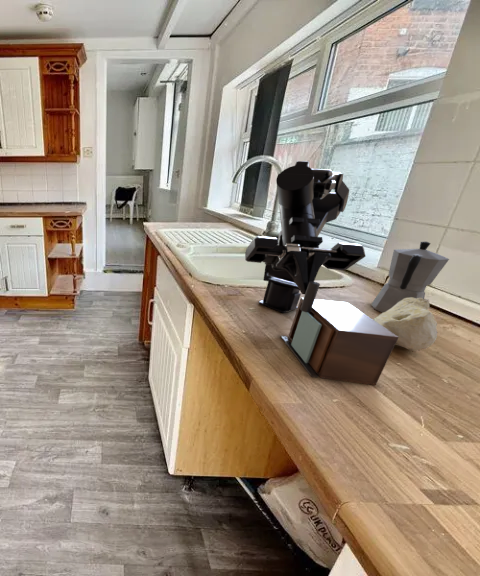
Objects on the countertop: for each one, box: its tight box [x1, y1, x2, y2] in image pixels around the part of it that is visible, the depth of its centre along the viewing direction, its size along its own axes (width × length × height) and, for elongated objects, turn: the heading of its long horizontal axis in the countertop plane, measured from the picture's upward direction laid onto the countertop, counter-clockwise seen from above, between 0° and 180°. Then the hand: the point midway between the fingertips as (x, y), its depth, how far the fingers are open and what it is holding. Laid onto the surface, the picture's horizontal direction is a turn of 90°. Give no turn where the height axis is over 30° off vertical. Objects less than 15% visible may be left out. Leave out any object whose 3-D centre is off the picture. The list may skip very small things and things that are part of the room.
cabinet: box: [280, 297, 399, 386], centre depth 54 cm, size 13×10×9 cm
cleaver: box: [291, 281, 322, 364], centre depth 54 cm, size 6×2×13 cm, turn 171°
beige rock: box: [372, 297, 438, 353], centre depth 62 cm, size 15×7×15 cm
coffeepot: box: [370, 240, 450, 314], centre depth 74 cm, size 15×9×18 cm, turn 129°
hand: (305, 293), depth 55 cm, fingers closed
